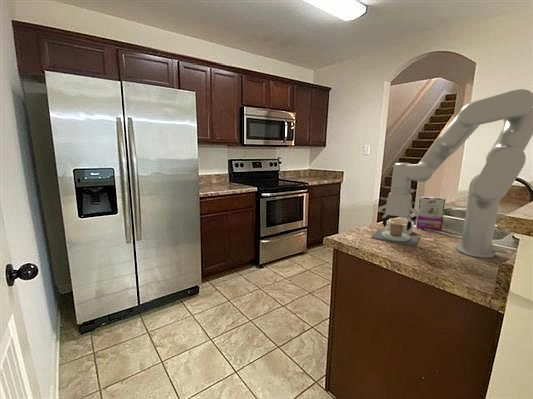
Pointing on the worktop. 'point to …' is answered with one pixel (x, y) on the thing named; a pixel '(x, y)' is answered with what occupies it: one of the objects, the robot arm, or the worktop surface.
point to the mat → (411, 242)
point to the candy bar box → (430, 212)
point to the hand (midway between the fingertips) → (396, 227)
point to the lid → (396, 233)
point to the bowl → (403, 222)
